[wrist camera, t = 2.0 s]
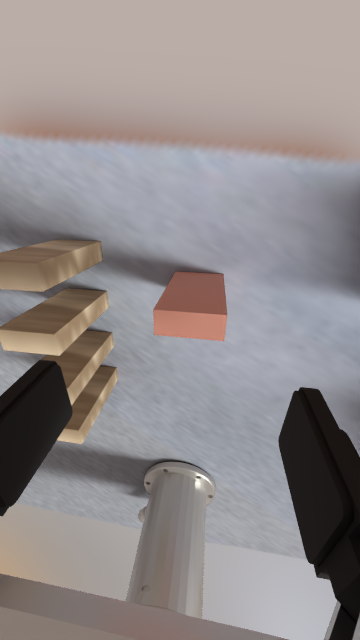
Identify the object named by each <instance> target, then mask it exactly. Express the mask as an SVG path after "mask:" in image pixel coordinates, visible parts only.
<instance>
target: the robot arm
mask: <svg viewBox="0 0 360 640" xmlns="http://www.w3.org/2000/svg"><path fill="white" fill-rule="evenodd" d="M72 414H73V409H72V405H71V402H70V398H69V395H68V391H67V388H66V384H65V381H64V377H63V373H62V370H61V367H60V366H59V365H58V364H57V362H56V361H49V360H39V361H38V362H37V363H36V364H34V365H33V366H32V367H31V368H30V369H29V370H28V371H27V372H26V373H25V374H24V375H23V376H22V377H20V378H19V379H18V380H17V381H16V382H15V383H14V384H13V385H12V386H11V387H10V388H9V389H8V390H6V391H5V392H4V393H3V394H2V395H1V396H0V516H3V515H4V513H5V512H6V511H7V509H8V508H9V507H11V506H12V505H14V504H15V503H16V501H17V500H18V498H19V497H20V495H21V494H22V492H23V491H24V489H25V488H26V486H27V485H28V483H29V482H30V480H31V479H32V477H33V475H34V474H35V472H36V471H37V469H38V468H39V466H40V465H41V463H42V462H43V460H44V459H45V457H46V456H47V454H48V453H49V451H50V450H51V448H52V446H53V445H54V443H55V442H56V440H57V439H58V437H59V436H60V434H61V433H62V431H63V430H64V428H65V427H66V425H67V424H68V422H69V421H70V419H71V417H72ZM279 448H280V452H281V456H282V461H283V465H284V469H285V473H286V477H287V481H288V485H289V489H290V493H291V497H292V501H293V506H294V510H295V514H296V518H297V522H298V526H299V530H300V534H301V538H302V542H303V546H304V550H305V554H306V557H307V560H308V562H309V563H310V564H314V568H315V572H316V576H317V577H318V578H324V579H329V580H330V581H331V584H332V588H333V591H334V594H335V598H336V599H337V603H336V606H335V609H334V612H333V615H332V617H331V621H330V623H329V626H328V629H327V632H326V635H325V638H324V640H360V457H359V455H358V453H357V451H356V449H355V447H354V446H353V444H352V442H351V440H350V438H349V437H348V435H347V434H346V433H345V432H344V431H343V430H340V429H339V427H338V425H337V423H336V421H335V419H334V417H333V415H332V413H331V411H330V409H329V408H328V406H327V404H326V402H325V400H324V398H323V396H322V394H321V392H320V391H319V390H318V389H312V388H303V387H301V388H300V389H299V391H294V393H293V396H292V399H291V402H290V405H289V408H288V411H287V414H286V417H285V420H284V423H283V426H282V429H281V432H280V436H279ZM144 486H145V489H146V491H147V492H148V494H149V495H150V496H149V501H148V504H147V506H146V507H144V508H143V509H141V510H140V511H139V514H138V516H139V520H140V521H141V522H143V527H142V531H141V536H140V540H139V544H138V549H137V553H136V558H135V562H134V566H133V571H132V575H131V579H130V584H129V588H128V593H127V597H126V601H120V600H117V599H112V598H108V597H103V596H99V595H94V594H89V593H85V592H81V591H77V590H72V589H68V588H63V587H59V586H54V585H49V584H45V583H41V582H36V581H32V580H26V579H22V578H18V577H13V576H9V575H4V574H0V640H287V639H284V638H279V637H276V636H272V635H268V634H264V633H260V632H256V631H251V630H248V629H243V628H239V627H234V626H230V625H226V624H221V623H217V622H213V621H208V620H204V619H202V603H203V574H204V546H205V545H204V544H205V519H206V506H207V505H209V504H210V503H211V502H212V501H213V500H214V498H215V491H216V488H215V483H214V481H213V480H212V478H211V477H210V476H209V475H208V474H207V473H206V472H204V471H203V470H201V469H200V468H197V467H195V466H193V465H190V464H187V463H182V462H163V463H159V464H156V465H154V466H152V467H151V468H150V469H149V470H148V471H147V473H146V475H145V479H144Z"/></svg>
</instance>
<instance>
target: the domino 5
mask: <svg viewBox="0 0 360 640" xmlns="http://www.w3.org/2000/svg"><path fill="white" fill-rule="evenodd" d="M153 312H154V335H162V336H173V337H184V338H196V339H207V340H219V341H224V338H225V330H226V321H227V307H226V296H225V286H224V275H223V274H212V273H194V272H175V274H174V275H173V277H172V279H171V280H170V282H169V284H168V286H167V287H166V289H165V291H164V292H163V294H162V296H161V298H160V299H159V301H158V303H157V304H156V306H155V308H154V310H153Z"/></svg>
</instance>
